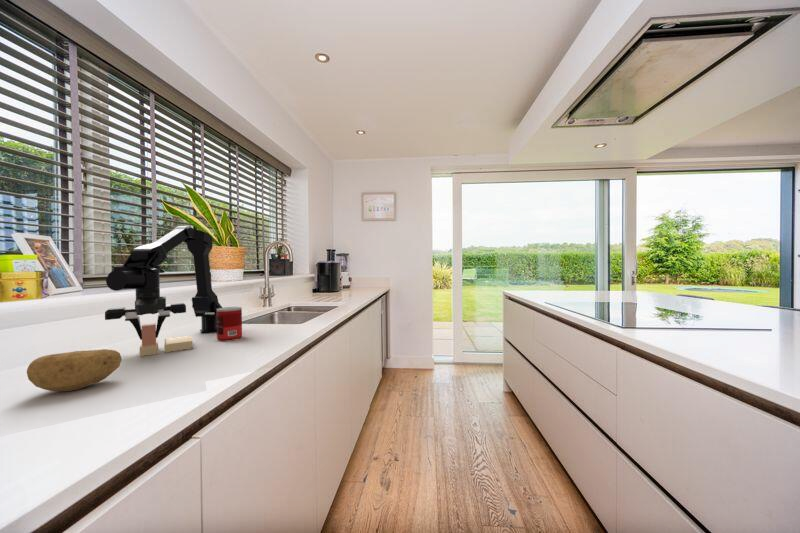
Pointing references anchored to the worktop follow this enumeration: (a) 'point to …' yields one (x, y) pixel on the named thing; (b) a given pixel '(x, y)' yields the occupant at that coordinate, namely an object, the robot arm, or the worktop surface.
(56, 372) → the potato
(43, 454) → the worktop surface
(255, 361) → the worktop surface
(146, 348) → the stub
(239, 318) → the canned food
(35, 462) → the worktop surface
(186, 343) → the hinged cream panel
